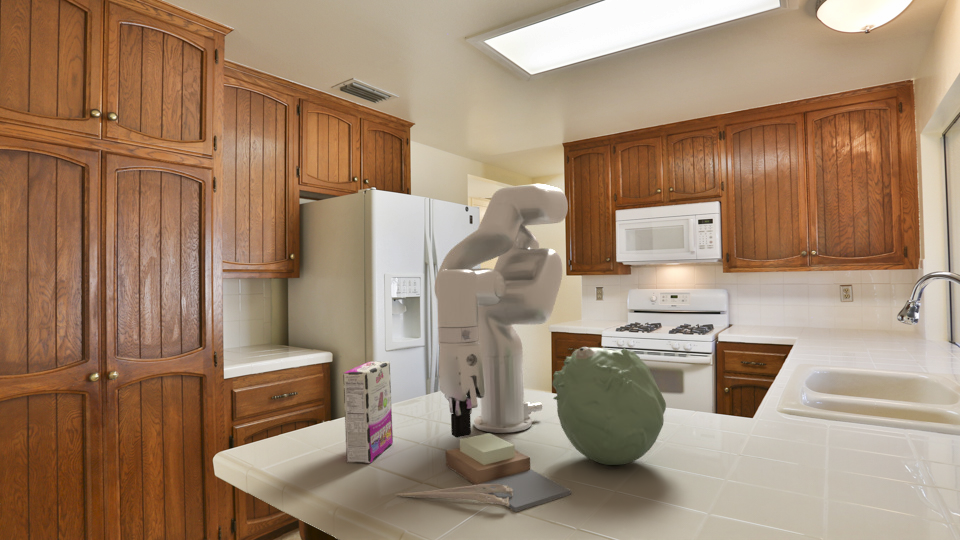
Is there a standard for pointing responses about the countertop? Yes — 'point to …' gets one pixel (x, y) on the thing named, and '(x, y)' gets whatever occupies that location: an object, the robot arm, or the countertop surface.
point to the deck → (485, 466)
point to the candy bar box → (367, 411)
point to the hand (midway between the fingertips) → (461, 435)
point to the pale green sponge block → (487, 448)
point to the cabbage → (608, 404)
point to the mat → (529, 489)
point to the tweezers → (468, 493)
